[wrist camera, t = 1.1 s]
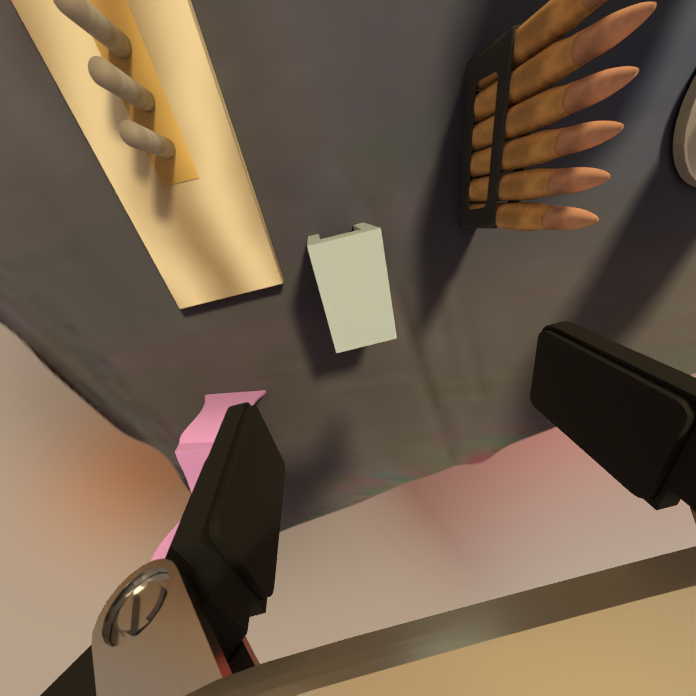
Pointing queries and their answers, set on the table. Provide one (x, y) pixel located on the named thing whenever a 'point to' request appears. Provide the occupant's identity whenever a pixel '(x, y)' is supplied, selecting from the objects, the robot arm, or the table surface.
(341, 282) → the pale green notched block
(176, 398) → the table surface
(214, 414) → the toy chair
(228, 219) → the board
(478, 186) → the ammunition clip
